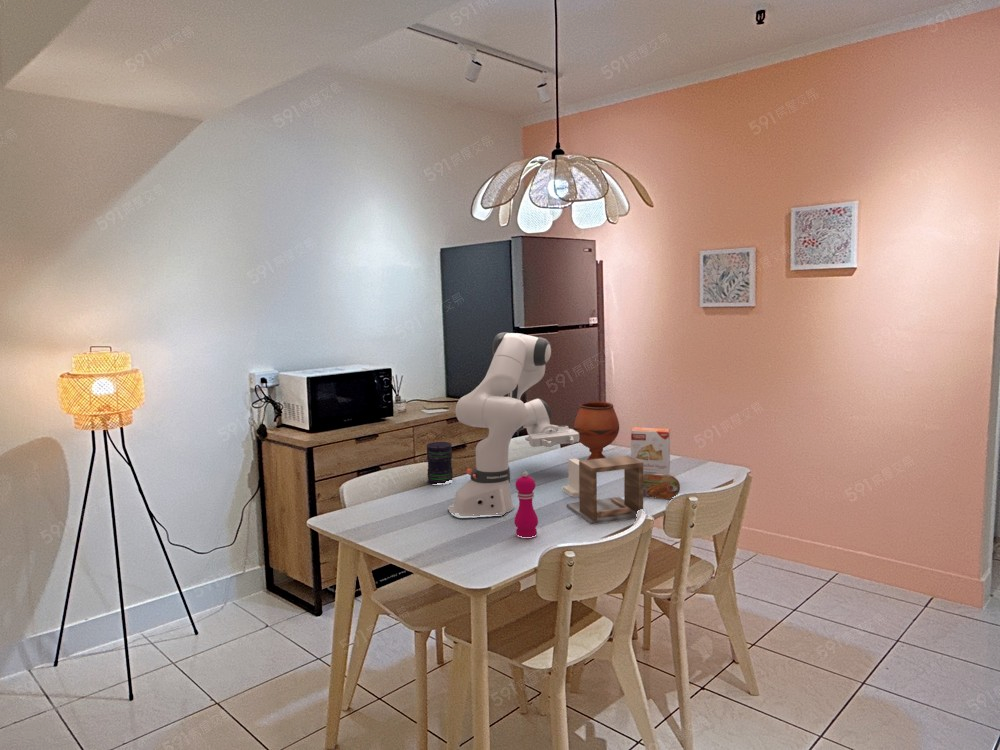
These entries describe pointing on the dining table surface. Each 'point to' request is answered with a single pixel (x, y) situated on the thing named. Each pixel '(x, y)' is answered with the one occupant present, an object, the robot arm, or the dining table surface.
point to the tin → (660, 486)
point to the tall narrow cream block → (573, 478)
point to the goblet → (596, 426)
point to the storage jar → (439, 462)
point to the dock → (609, 507)
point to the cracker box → (651, 449)
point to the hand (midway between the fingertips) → (561, 442)
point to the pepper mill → (525, 507)
